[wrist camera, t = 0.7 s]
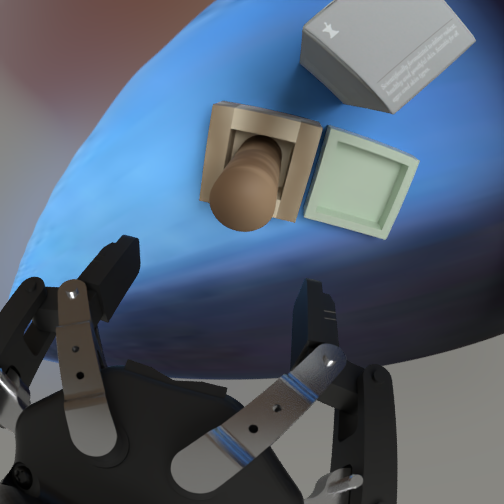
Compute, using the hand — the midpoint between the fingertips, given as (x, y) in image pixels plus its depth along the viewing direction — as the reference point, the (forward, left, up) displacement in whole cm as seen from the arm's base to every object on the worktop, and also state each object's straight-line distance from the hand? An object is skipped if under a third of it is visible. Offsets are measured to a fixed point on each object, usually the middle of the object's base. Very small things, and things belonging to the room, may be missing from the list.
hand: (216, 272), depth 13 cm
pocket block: (0, 0, -20) cm, 20 cm away
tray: (-11, 0, -20) cm, 23 cm away
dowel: (0, 0, -19) cm, 19 cm away
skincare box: (-6, -13, -20) cm, 25 cm away
